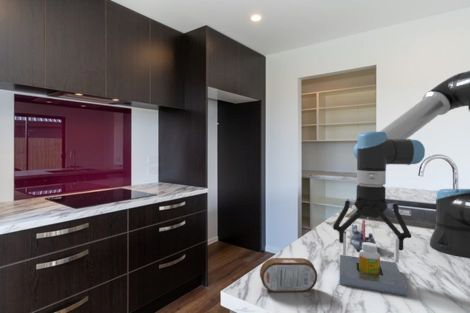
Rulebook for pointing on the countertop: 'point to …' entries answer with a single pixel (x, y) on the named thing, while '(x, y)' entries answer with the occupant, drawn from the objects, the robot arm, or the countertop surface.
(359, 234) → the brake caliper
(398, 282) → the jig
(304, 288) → the tin
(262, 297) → the countertop surface
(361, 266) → the supplement bottle
